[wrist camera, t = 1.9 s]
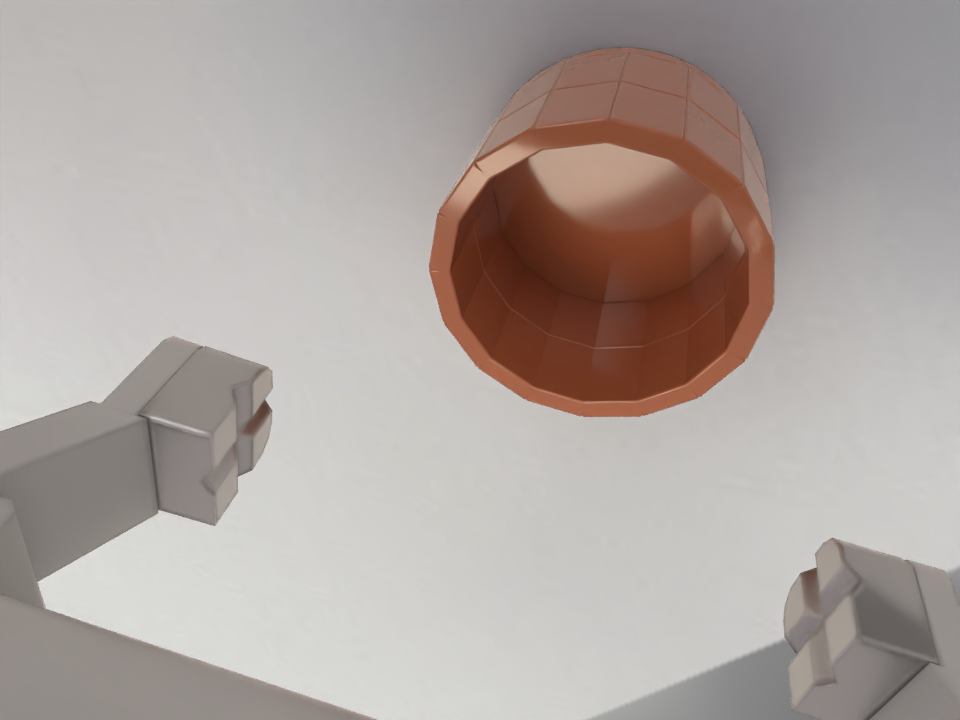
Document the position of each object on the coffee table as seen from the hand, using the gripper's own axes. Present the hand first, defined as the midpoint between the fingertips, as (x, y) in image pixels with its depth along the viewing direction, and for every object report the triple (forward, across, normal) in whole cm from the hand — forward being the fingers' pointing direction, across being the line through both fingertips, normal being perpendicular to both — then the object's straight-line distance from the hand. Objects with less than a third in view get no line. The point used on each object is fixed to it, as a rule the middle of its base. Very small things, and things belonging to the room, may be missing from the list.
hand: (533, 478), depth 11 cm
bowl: (+10, 0, 0) cm, 10 cm away
